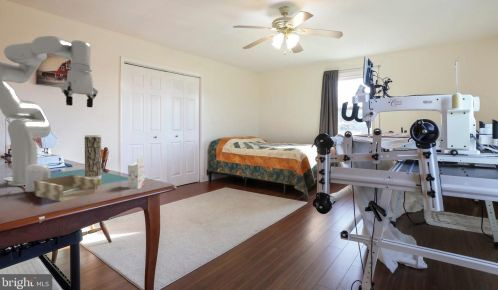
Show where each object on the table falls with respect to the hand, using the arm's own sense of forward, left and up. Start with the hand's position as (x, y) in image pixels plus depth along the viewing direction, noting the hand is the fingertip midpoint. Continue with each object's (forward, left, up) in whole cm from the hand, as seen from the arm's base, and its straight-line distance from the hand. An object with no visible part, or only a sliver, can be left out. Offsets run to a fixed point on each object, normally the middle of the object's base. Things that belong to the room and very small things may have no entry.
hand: (79, 106), depth 122 cm
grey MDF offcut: (+15, -12, -38) cm, 42 cm away
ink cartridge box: (+21, +14, -39) cm, 46 cm away
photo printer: (-7, -14, -39) cm, 42 cm away
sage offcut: (+12, -13, -37) cm, 41 cm away
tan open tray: (+10, -12, -39) cm, 42 cm away
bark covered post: (+4, +3, -39) cm, 39 cm away
